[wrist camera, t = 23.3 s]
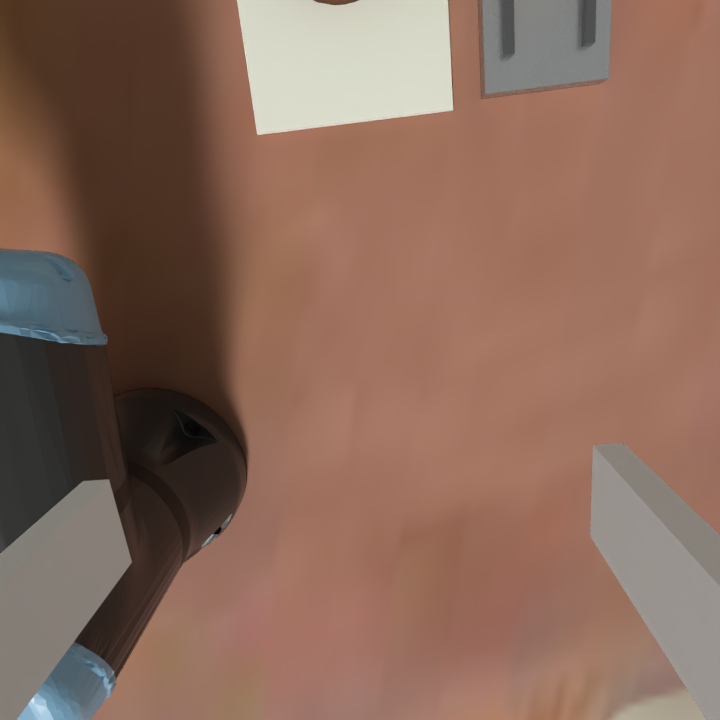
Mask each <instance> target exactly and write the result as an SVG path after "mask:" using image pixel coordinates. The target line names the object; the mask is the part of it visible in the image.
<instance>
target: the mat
mask: <svg viewBox="0 0 720 720" xmlns="http://www.w3.org/2000/svg"><path fill="white" fill-rule="evenodd" d="M237 3H238V10H239V16H240V23H241V30H242V36H243V43H244V50H245V56H246V63H247V69H248V76H249V83H250V89H251V96H252V103H253V109H254V116H255V123H256V129H257V134H258V135H262V134H270V133H278V132H286V131H294V130H301V129H309V128H317V127H325V126H333V125H341V124H349V123H357V122H365V121H373V120H381V119H389V118H397V117H405V116H413V115H421V114H429V113H437V112H445V111H453V96H452V75H451V54H450V33H449V12H448V0H359V1H356V2H353V3H349V4H345V5H330V4H324V3H318V2H316V1H314V0H237Z"/></svg>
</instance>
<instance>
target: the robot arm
mask: <svg viewBox="0 0 720 720" xmlns="http://www.w3.org/2000/svg"><path fill="white" fill-rule="evenodd" d="M107 341H108V338H107V335H106V334H105V333H104V332H102V330H101V326H100V322H99V318H98V314H97V310H96V306H95V302H94V298H93V294H92V290H91V286H90V283H89V280H88V278H87V276H86V274H85V273H84V271H83V270H82V269H81V268H80V267H79V266H78V265H77V264H76V263H75V262H73V261H72V260H70V259H69V258H67V257H64V256H62V255H59V254H56V253H52V252H44V251H32V250H16V249H0V720H91V719H92V718H93V716H94V715H95V713H96V712H97V710H98V709H99V708H100V706H101V705H102V703H103V702H104V701H105V700H106V699H107V698H108V697H109V696H110V695H111V693H112V691H113V689H114V687H115V685H116V683H115V681H116V678H117V677H118V675H119V673H120V671H121V670H122V668H123V666H124V665H125V663H126V661H127V659H128V658H129V656H130V654H131V652H132V651H133V649H134V647H135V645H136V644H137V642H138V640H139V639H140V637H141V635H142V633H143V632H144V630H145V628H146V626H147V625H148V623H149V621H150V620H151V618H152V616H153V614H154V613H155V611H156V609H157V607H158V606H159V604H160V602H161V600H162V599H163V597H164V595H165V594H166V592H167V590H168V588H169V587H170V585H171V583H172V581H173V580H174V578H175V576H176V574H177V573H178V571H179V569H180V568H181V566H182V564H183V563H184V562H186V561H187V560H188V559H190V558H191V557H192V556H194V555H195V554H196V553H198V552H199V551H200V550H201V549H202V548H203V547H205V546H206V545H208V544H209V543H211V542H212V541H213V540H215V539H216V538H217V537H218V536H219V535H220V534H221V533H222V532H223V531H224V530H225V529H226V527H227V526H228V525H229V523H230V522H231V520H232V518H233V517H234V515H235V513H236V511H237V509H238V507H239V505H240V503H241V501H242V498H243V495H244V492H245V487H246V475H247V474H246V464H245V459H244V455H243V452H242V449H241V447H240V445H239V443H238V441H237V439H236V437H235V435H234V434H233V432H232V431H231V429H230V428H229V427H228V425H227V424H226V423H225V422H224V421H223V420H222V419H221V418H220V417H219V416H218V415H217V414H216V413H215V412H214V411H212V410H211V409H210V408H208V407H207V406H205V405H204V404H202V403H201V402H199V401H197V400H195V399H193V398H191V397H189V396H186V395H184V394H181V393H178V392H174V391H170V390H164V389H138V390H133V391H129V392H125V393H123V394H120V395H118V396H115V397H114V392H113V387H112V382H111V376H110V371H109V366H108V361H107V355H106V350H105V344H107ZM590 537H591V538H592V540H593V542H594V543H595V545H596V546H597V548H598V549H599V551H600V553H601V554H602V556H603V557H604V559H605V560H606V562H607V564H608V565H609V567H610V568H611V570H612V572H613V573H614V575H615V576H616V578H617V579H618V581H619V583H620V584H621V586H622V587H623V589H624V590H625V592H626V594H627V595H628V597H629V598H630V600H631V601H632V603H633V605H634V606H635V608H636V609H637V611H638V613H639V614H640V616H641V617H642V619H643V620H644V622H645V624H646V625H647V627H648V628H649V630H650V631H651V633H652V635H653V636H654V638H655V639H656V641H657V642H658V644H659V646H660V647H661V649H662V650H663V652H664V654H665V655H666V657H667V658H668V660H669V661H670V663H671V665H672V666H673V668H674V669H675V671H676V672H677V674H678V676H679V677H680V679H681V680H682V682H683V683H684V685H685V687H686V688H687V690H688V691H689V693H690V694H691V696H692V698H693V699H694V701H695V702H696V704H697V705H698V707H699V708H700V710H701V712H702V713H703V715H704V717H705V718H706V719H707V720H720V535H719V534H718V533H717V532H716V531H715V530H714V529H713V528H712V527H711V526H709V525H708V524H707V523H706V522H705V521H704V520H703V519H702V518H701V517H700V516H699V515H698V514H697V513H696V512H695V511H694V510H693V509H692V508H691V507H690V506H689V505H688V504H687V503H686V502H685V501H683V500H682V499H681V498H680V497H679V496H678V495H677V494H676V493H675V492H674V491H673V490H672V489H671V488H670V487H669V486H668V485H667V484H666V483H665V482H664V481H663V480H662V479H661V478H660V477H658V476H657V475H656V474H655V473H654V472H653V471H652V470H651V469H650V468H649V467H648V466H647V465H646V464H645V463H644V462H643V461H642V460H641V459H640V458H639V457H638V456H637V455H636V454H635V453H634V452H632V451H631V450H630V449H629V448H628V447H627V446H626V445H625V444H624V443H618V444H604V445H593V462H592V496H591V530H590Z"/></svg>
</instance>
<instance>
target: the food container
mask: <svg viewBox="0 0 720 720" xmlns="http://www.w3.org/2000/svg"><path fill="white" fill-rule="evenodd" d="M314 1H316V2H318V3H324V4H330V5H345V4H349V3H353V2H356V1H359V0H314Z"/></svg>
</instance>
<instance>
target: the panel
mask: <svg viewBox="0 0 720 720" xmlns="http://www.w3.org/2000/svg"><path fill="white" fill-rule="evenodd" d="M478 19H479V50H480V80H481V99H485V98H493V97H501V96H509V95H517V94H525V93H533V92H541V91H548V90H556V89H564V88H572V87H580V86H588V85H596V84H600V83H602V82H604V81H605V80H607V79H608V78H609V62H610V31H611V0H478Z"/></svg>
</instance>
